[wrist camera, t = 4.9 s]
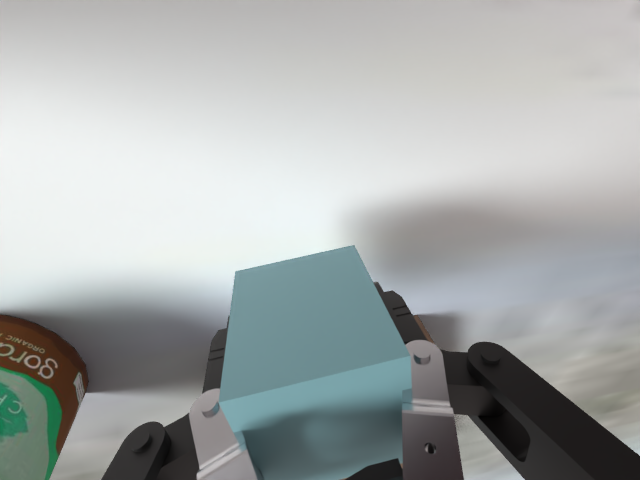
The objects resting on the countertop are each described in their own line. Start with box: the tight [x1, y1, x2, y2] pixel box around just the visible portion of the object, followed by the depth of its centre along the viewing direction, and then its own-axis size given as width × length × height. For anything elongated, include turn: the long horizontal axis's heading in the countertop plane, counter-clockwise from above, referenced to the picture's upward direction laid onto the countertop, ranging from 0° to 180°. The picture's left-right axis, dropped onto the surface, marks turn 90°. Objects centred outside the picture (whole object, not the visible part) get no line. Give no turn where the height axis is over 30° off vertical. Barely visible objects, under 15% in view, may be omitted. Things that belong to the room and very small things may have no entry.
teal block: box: [218, 245, 412, 480], centre depth 12 cm, size 5×5×6 cm
